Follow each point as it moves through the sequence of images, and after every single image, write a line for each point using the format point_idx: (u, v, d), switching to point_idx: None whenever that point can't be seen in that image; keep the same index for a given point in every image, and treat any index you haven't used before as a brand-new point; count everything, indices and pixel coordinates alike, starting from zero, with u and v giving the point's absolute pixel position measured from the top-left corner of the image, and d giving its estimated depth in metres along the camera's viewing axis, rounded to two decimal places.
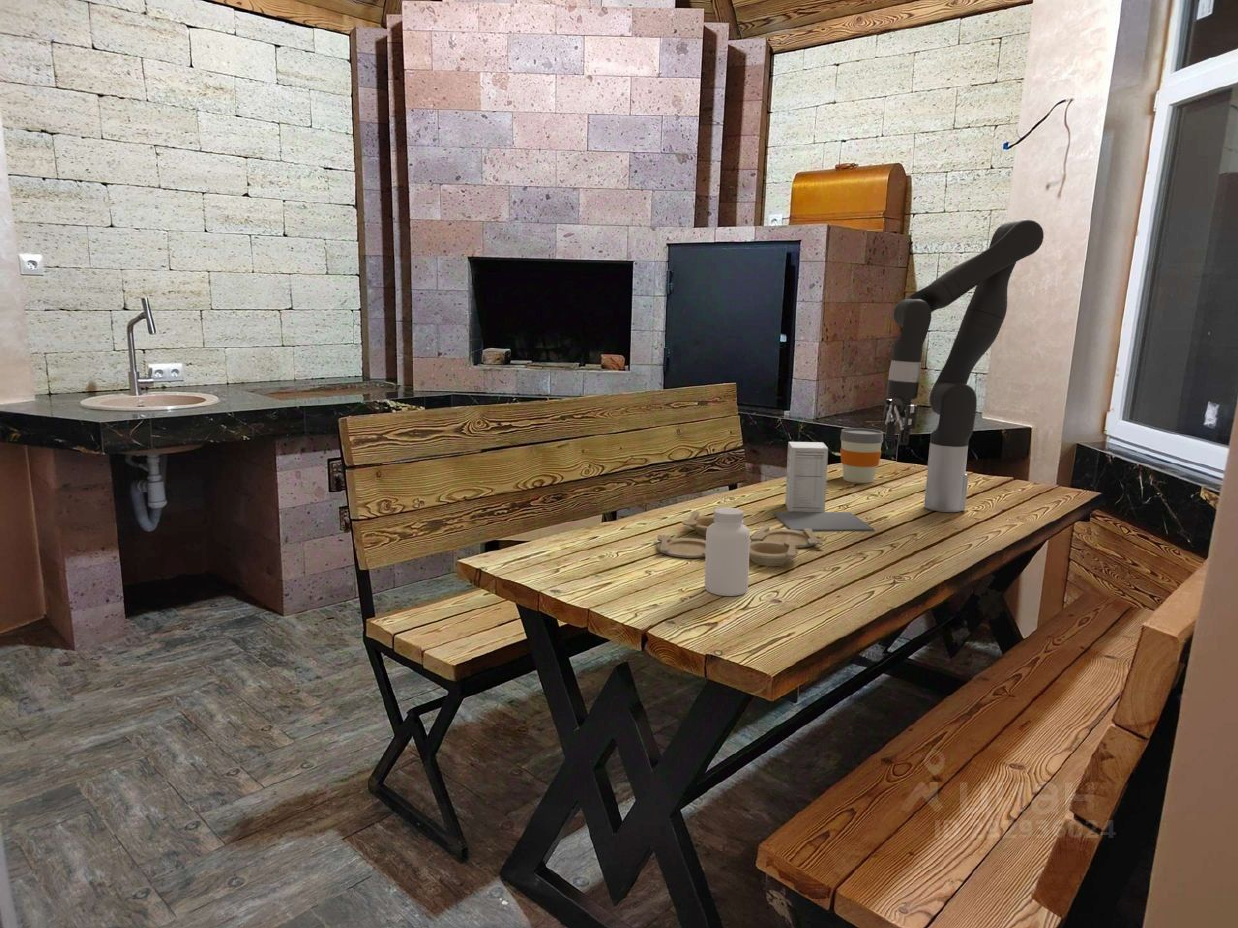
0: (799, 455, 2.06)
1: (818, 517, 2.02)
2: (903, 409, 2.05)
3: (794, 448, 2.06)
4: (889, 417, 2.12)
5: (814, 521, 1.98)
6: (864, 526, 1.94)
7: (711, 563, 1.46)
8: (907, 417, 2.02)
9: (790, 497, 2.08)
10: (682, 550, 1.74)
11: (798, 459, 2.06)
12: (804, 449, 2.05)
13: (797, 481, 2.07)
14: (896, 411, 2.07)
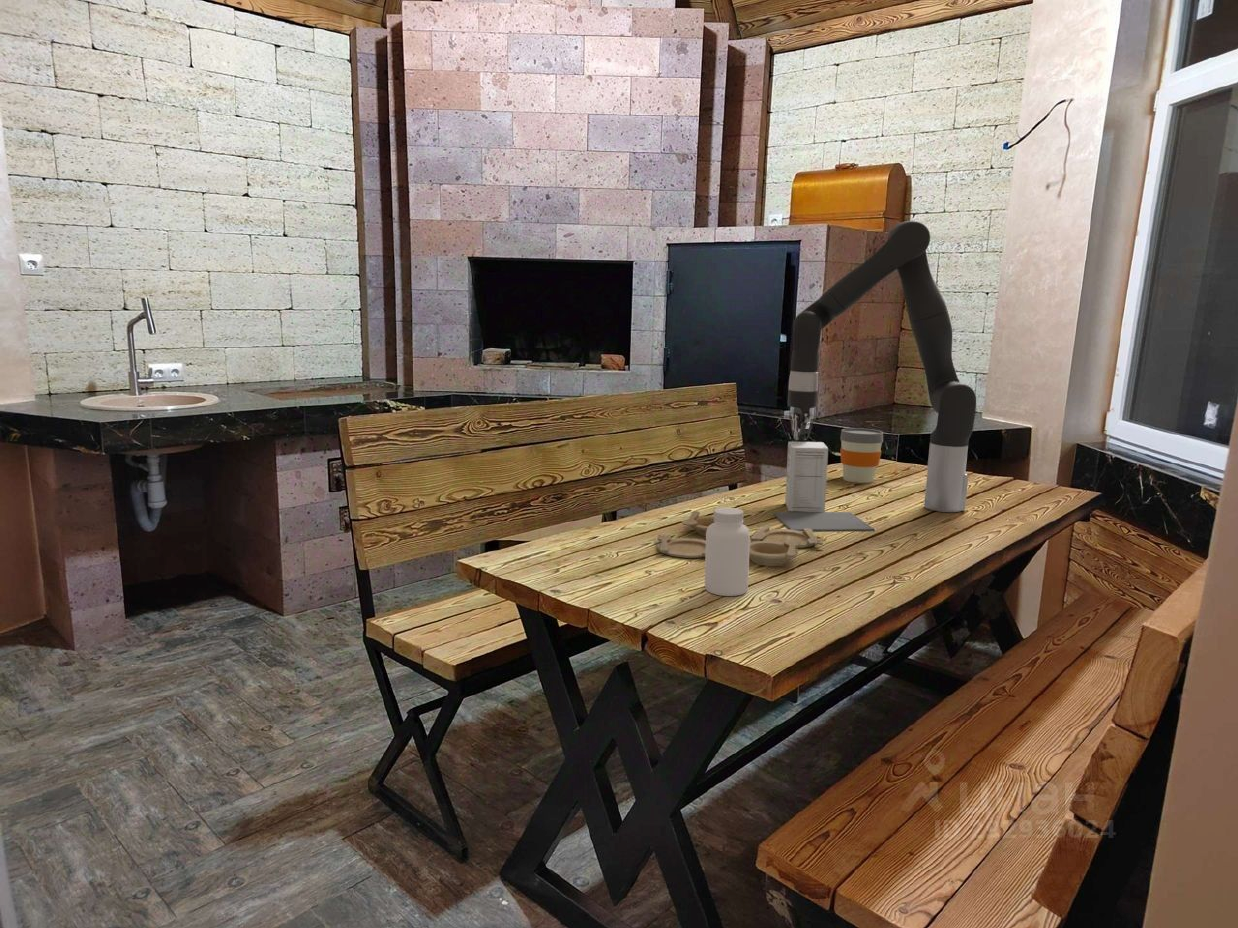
0: (799, 455, 2.06)
1: (818, 517, 2.02)
2: (801, 419, 2.12)
3: (794, 448, 2.05)
4: (795, 428, 2.16)
5: (814, 521, 1.98)
6: (864, 526, 1.94)
7: (711, 563, 1.46)
8: (801, 432, 2.12)
9: (790, 497, 2.08)
10: (682, 550, 1.74)
11: (798, 459, 2.06)
12: (804, 449, 2.05)
13: (797, 481, 2.07)
14: (795, 420, 2.14)
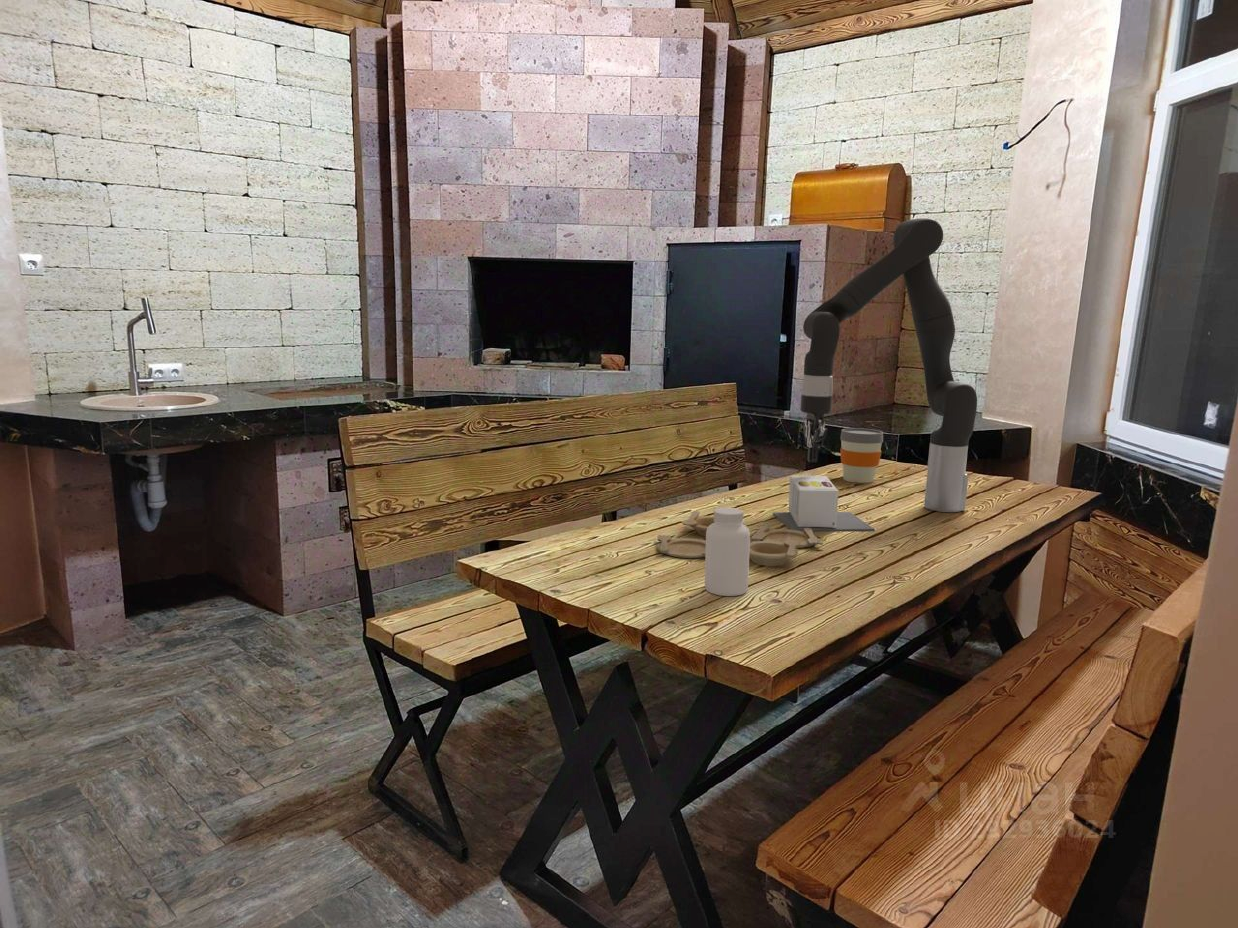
0: None
1: None
2: None
3: (800, 526, 1.92)
4: (808, 435, 2.05)
5: None
6: (864, 526, 1.94)
7: (711, 563, 1.46)
8: (815, 439, 2.00)
9: (791, 513, 2.05)
10: (682, 550, 1.74)
11: None
12: (811, 526, 1.92)
13: None
14: (809, 427, 2.03)
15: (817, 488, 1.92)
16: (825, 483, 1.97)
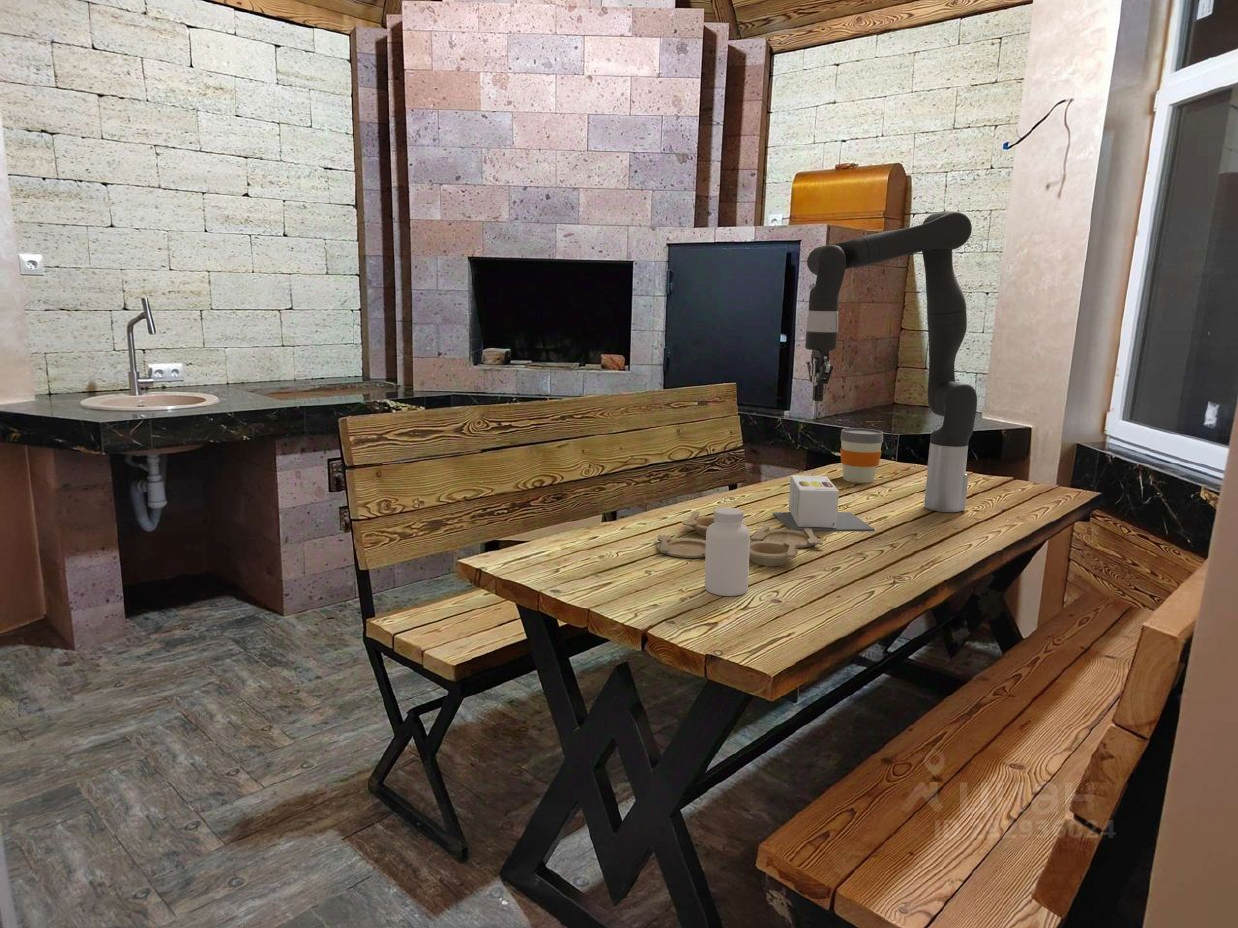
0: None
1: None
2: (820, 362, 1.97)
3: (800, 526, 1.92)
4: (813, 373, 2.01)
5: None
6: (864, 526, 1.94)
7: (711, 563, 1.46)
8: (821, 376, 1.97)
9: (791, 513, 2.05)
10: (682, 550, 1.74)
11: None
12: (811, 526, 1.92)
13: None
14: (814, 364, 1.99)
15: (818, 488, 1.92)
16: (826, 483, 1.97)
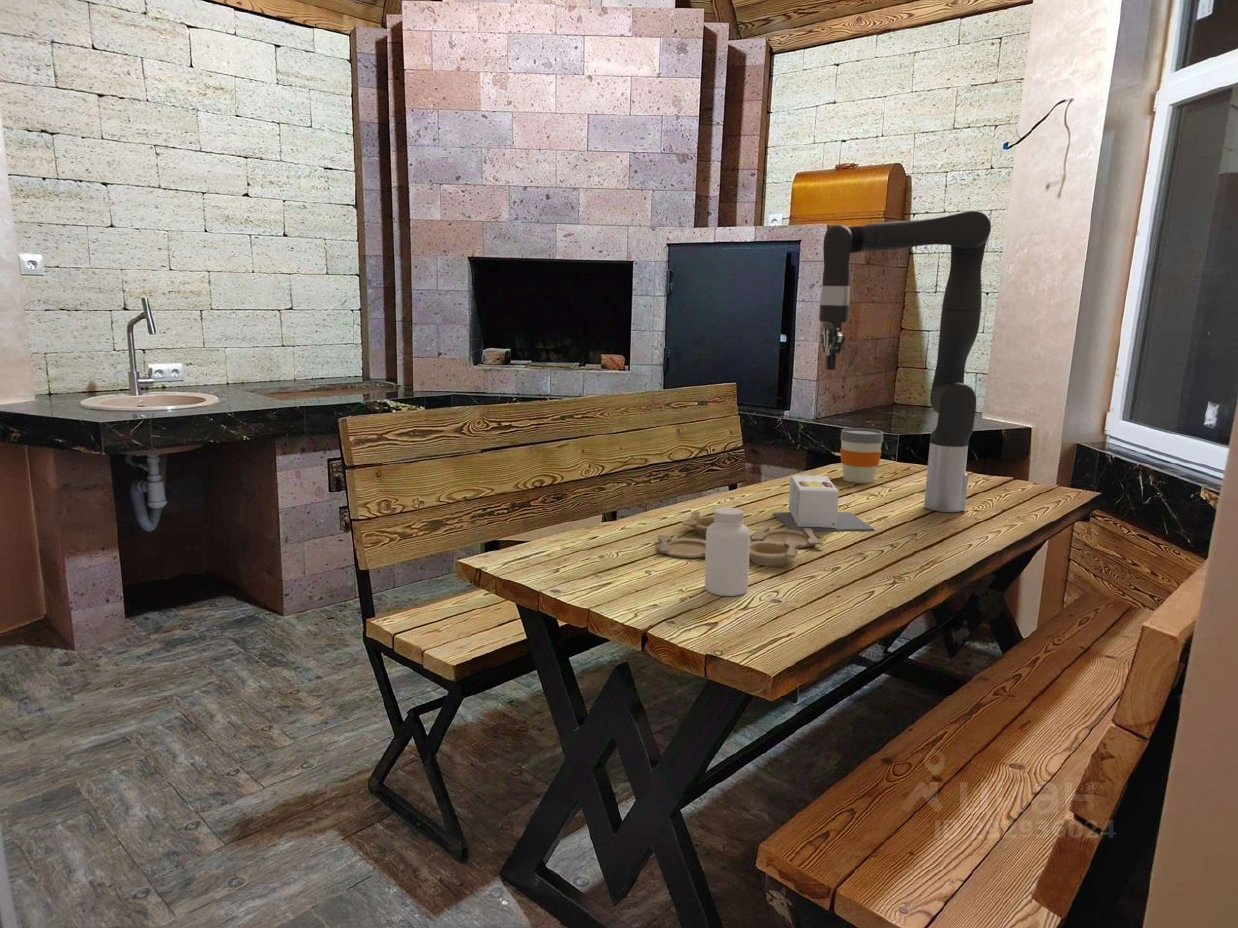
0: None
1: None
2: (833, 333, 2.14)
3: (800, 526, 1.92)
4: (826, 344, 2.18)
5: None
6: (864, 526, 1.94)
7: (711, 563, 1.46)
8: (833, 346, 2.14)
9: (791, 513, 2.05)
10: (682, 550, 1.74)
11: None
12: (811, 526, 1.92)
13: None
14: (827, 335, 2.16)
15: (818, 488, 1.92)
16: (826, 483, 1.97)
